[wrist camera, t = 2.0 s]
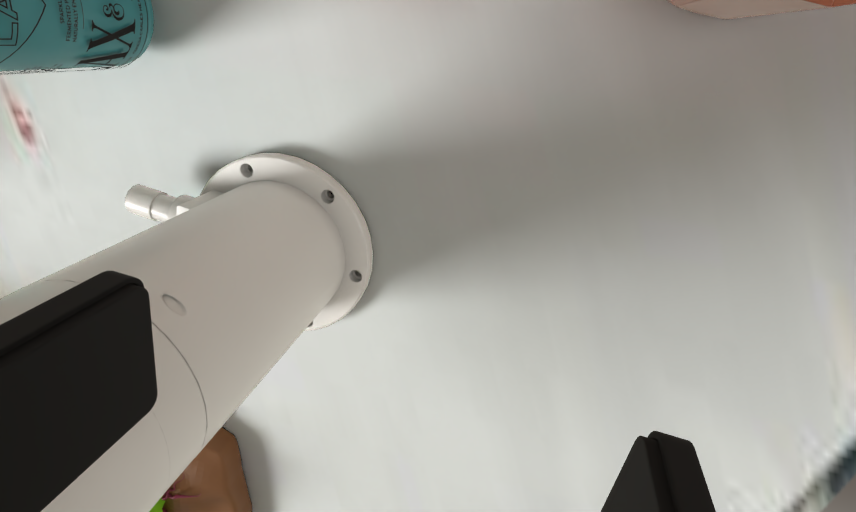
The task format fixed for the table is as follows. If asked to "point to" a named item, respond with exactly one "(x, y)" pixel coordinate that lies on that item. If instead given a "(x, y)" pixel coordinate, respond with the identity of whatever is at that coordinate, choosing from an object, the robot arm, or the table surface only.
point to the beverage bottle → (73, 33)
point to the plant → (210, 481)
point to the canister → (753, 6)
